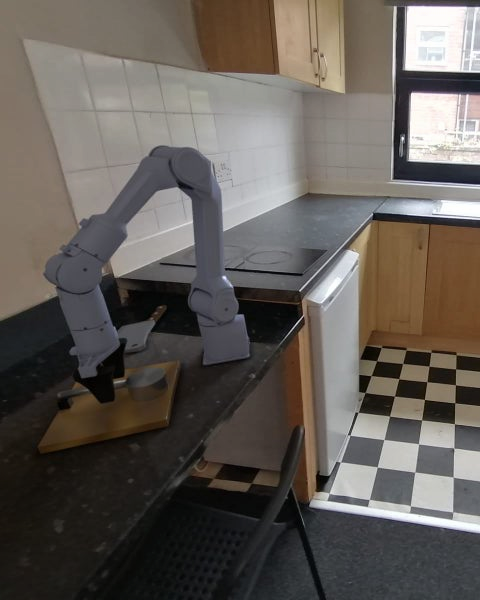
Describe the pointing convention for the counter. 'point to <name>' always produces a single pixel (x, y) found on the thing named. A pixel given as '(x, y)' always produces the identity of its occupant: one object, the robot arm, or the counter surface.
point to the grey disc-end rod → (138, 385)
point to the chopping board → (110, 414)
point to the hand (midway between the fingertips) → (113, 389)
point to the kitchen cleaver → (139, 331)
